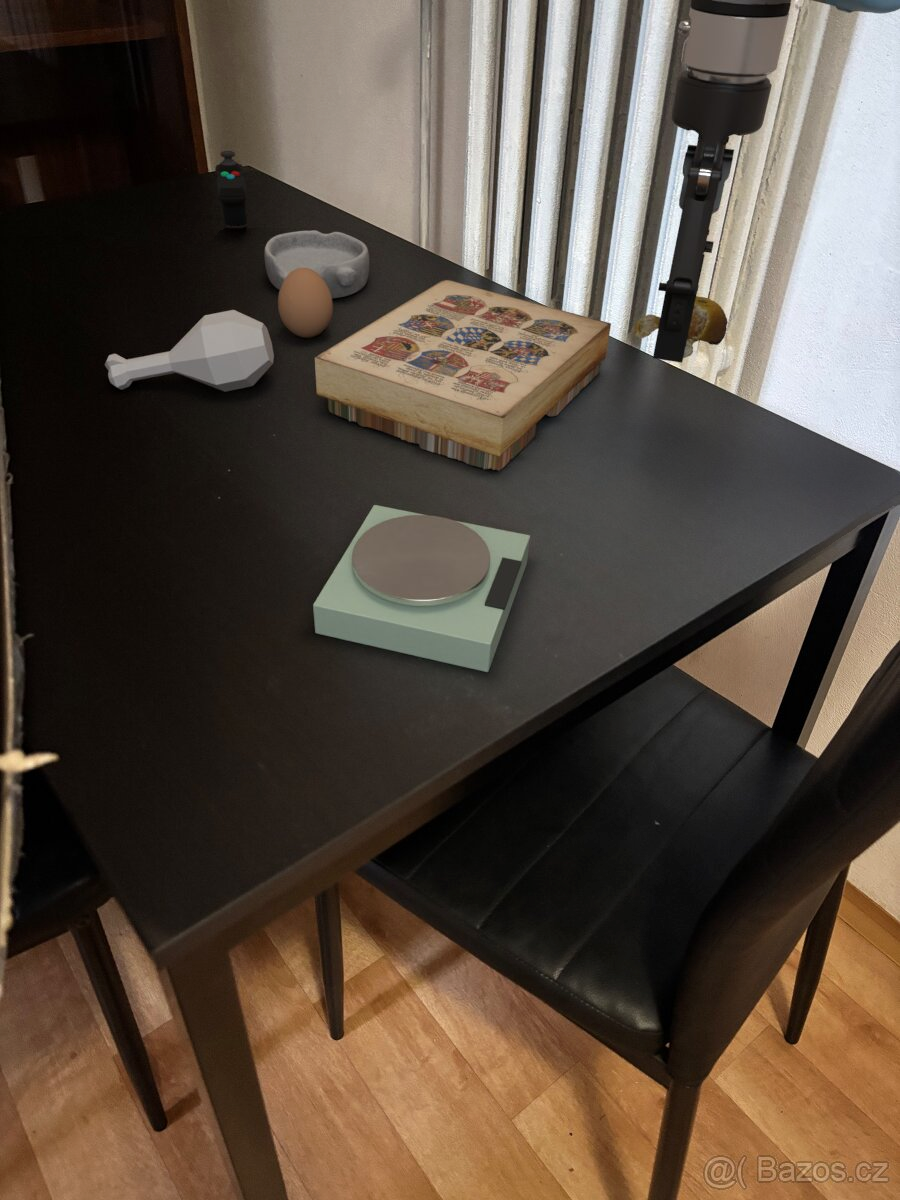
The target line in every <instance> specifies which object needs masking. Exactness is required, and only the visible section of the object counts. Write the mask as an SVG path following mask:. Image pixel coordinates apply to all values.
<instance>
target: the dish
mask: <svg viewBox="0 0 900 1200" xmlns="http://www.w3.org/2000/svg"><path fill="white" fill-rule="evenodd" d="M264 264H265V270H266V273H267V274H266V275H267V277H268V281H269V282H270V283H271V284H272V286H273V287H274V288H276V289H277V290H279V291H280V289H281V286H282V283H283V282H284V280H285V278H286V277H287V275H288V274H289V273H290V272H292V271H294V270H295V269H298V268H309V269H312V270H313V271H315V272H317V273H318V274H319V275H320V276H321V277H322V279H323V280H324V281H325V283H326V285H327V287H328V289H329V291H330V293H331V297H332V299H338V298H344V297H347V296H351V295H353V294H356V293H357V292H359V291H360V290H362V289H363V288H364V287H365V286H366V284H367V282H368V279H369V275H370V254H369V249H368V247H367V245H366V243H364V242H363V241H361V240H359V239H357V238H356V237H353V236H351V235H348V234H346V233H344V232H340V231H333V232H330V233H322V232H320V231H319V230H299V231H291V232H285V233H281V234H277V235H275V236H273V237H270V239H269V240H268V241H267V242H266V244H265V246H264Z"/></svg>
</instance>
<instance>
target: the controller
mask: <svg viewBox="0 0 900 1200" xmlns="http://www.w3.org/2000/svg"><path fill="white" fill-rule="evenodd" d="M235 156H236V153H235V152H234V150H222V151H221V152H220V157H222V158H224V159H223V160H222V161H221V162H220V163H219V164H216V166H215V169H214V176H215V177H216V189H217V195H218V199H219V201H220V203H221V208H222V217H223V222H224V223H223V224H224V227H225V229H227V230H228V231H243V230H245V229H246V228H247V227H248V219H247V217H248V216H247V207H246V200H247V182H246V180H245V176H246V171H245V169H244V166H243V165H242V164H241V163H238V162H237V161H236V160H234V159H233V158H234V157H235ZM225 224H226V225H230V226H232V225H233V226H235V225H236V226H240V225H245V224H247V226H246V227H243V228H227V227H226V226H225Z"/></svg>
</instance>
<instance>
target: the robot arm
mask: <svg viewBox="0 0 900 1200" xmlns="http://www.w3.org/2000/svg"><path fill="white" fill-rule="evenodd" d="M812 1H813V2H817V3H821V4H825V5H828V6H833V7H835V8H836V10H838V11H842V12H845V13H849V14H850V13H855V12H861V13H872V14H880V15H881V14H888V13H894V12H896V11H899V10H900V0H811V2H812ZM791 2H792V0H691V2H690V8H689V13H688V17H689V19H688V20H681V21H680V22H679V24H678V28H677V32H678V33H679V35H682V36H683V35H685V36H687V37H686V39H685V40H684V41H683V47H682V53H681V59H680V61H681V63H682V65H683V66H684V67H685V70H682V72H680V74H679V75H678V76H677V78H676V84H675V90H674V95H673V102H672V107H671V113H670V118H671V121H672V123H673V124H674V125H675V126H677V127H678V128H680V129H682V130H685V131H693V132H695V133H697V135H698V136H697V143H696V145H694V144H688V145H687V148H686V151H685V154H684V159H683V164H682V176H683V179H682V184H681V189H680V195H679V198H678V206H679V208H680V209H681V215H680V220H679V224H678V231H677V236H676V239H675V245H674V251H673V256H672V262H671V266H670V271H669V277H668V280H667V281H666V282H658V283H659V284H658V291H660V292H664V297H663V302H662V308H661V313H660V323H659V328H658V329H657V334H656V340H655V345H654V350H653V356H652V359H654V360H655V359H656V360H662V361H668V362H675V363H681V364H682V363H683V360H684V358H683V356H684V352H685V347H686V342H687V337H688V333H689V328H690V323H691V319H692V314H693V309H694V304H695V300H696V296H698V291H699V288H700V287H699V283H700V279H701V274H702V270H703V269H702V268H703V265H704V260H705V253H708V254H712V253H713V248H714V243H715V241H712V240H708V236H709V234H710V226H711V221H712V216H713V214H716V213H717V212H718V211H719V209H720V207H721V202H722V197H723V192H724V189H725V182H726V181H727V180H728V179H729V177H730V174H731V169H732V165H733V161H734V153H735V149H732V148H727V144H728V143H729V141H730V136H734V135H735V136H739V137H742V136H747V135H751V134H754V133H757V132H758V131H759V130H761V128H762V127H763V124H764V121H765V117H766V112H767V108H768V103H769V99H770V94H771V92H772V91H771V90H772V87H773V86H772V83H771V80H770V78H768V75H772V73H774V72H775V71H776V70H777V68H778V63H779V60H780V55H781V52H782V51H781V50H782V47H783V42H784V37H785V34H786V30H787V29H786V28H787V25H788V21H789V20H788V19H789V15H790V9H791V5H792V3H791Z"/></svg>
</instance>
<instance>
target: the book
mask: <svg viewBox="0 0 900 1200" xmlns="http://www.w3.org/2000/svg"><path fill="white" fill-rule="evenodd" d="M611 327H612V323H611V322H607V321H604V320H601V319H600V320H599V319H596V318H592V317H588V316H586V315H585V316H584V315H581V314H577V313H574V312H570V311H567V310H562V309H558V308H555V307H551V306H547V305H543V304H540V303H536V302H533V301H528V300H524V299H521V298H517V297H514V296H510V295H506V294H503V293H498V292H496V291H491V290H488V289H484V288H480V287H477V286H472V285H469V284H466V283H461V282H458V281H455V280H454V281H453V280H451V279H447V278H444V279H443V280H441V281H439V282H437V283H436V284H435V285H433V286H431V287H429V288H427V289H426V290H424V291H423V292H421V293H419V294H418V295H416V296H415V297H413V298H411V299H410V300H408V301H406V302H405V303H403V304H401V305H400V306H398V307H396V308H395V309H393V310H391V311H389V312H387V313H386V314H385V315H383V316H382V317H380V318H378V319H376V320H375V321H373V322H372V323H370V324H368V325H366V326H365V327H363V328H361V329H359V330H357V331H356V332H354V333H353V334H351V335H350V336H348V337H347V338H345V339H343V340H342V341H340V342H338V343H337V344H334V345H333V346H332V347H330V348H328V349H327V350H324V351H323V352H321V353H320V354H318V355H316V356H314V368H315V369H314V370H315V386H316V387H315V389H316V396H319V397H322V398H324V399H327V410H328V412H329V413H331V414H332V415H336V416H338V417H339V418H340V417H341V418H344V419H346V420H347V421H349V422H354V423H357V424H358V426H360V427H363V428H364V427H365V428H370V429H373V430H376V431H380V432H383V433H385V434H388V435H391V436H392V437H396V438H400V439H401V441H406V442H408V443H413V444H415V445H416V444H417V445H419V448H420V449H422V450H424V451H428V452H430V453H435V454H437V455H442V456H445V457H447V458H450V459H452V460H458V461H459V462H460V461H461V462H463V463H465V464H467V465H470V466H474V467H477V468H481V469H483V470H489V469H492V471H494V470H496V471H498V472H500V471H501V470H502V469H503V468H504V467H506V465H507V464H508V463H510V460H513V459H514V458H515V457H516V456H517V455H518V454H519V453H520V452H521V451H522V450H523V449H525V448H526V446H528V444H529V443H530V442H531V441H532V440H533V439H534V438H535V437H536V430H537V423H538V422H539V421H540V420H541V419H542V418H543V417H544V416H545V415H546V416H548V417H556V416H558V415H559V413H561V412H562V411H563V409H565V407H567V405H568V404H569V403H570V402H571V401H572V400H573V399H574V398H575V397H576V396H578V394H580V392H581V391H582V390H583V388H585V387H586V386H588V384H589V383H590V382H592V380H594V378H595V377H596V376H597V375H598V374H599V373H600V369H601V365H602V362H603V361H604V360H605V359H606V358H607V351H608V345H609V339H610V332H611Z"/></svg>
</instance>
